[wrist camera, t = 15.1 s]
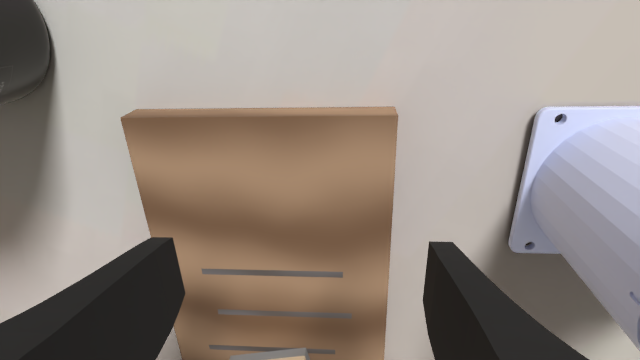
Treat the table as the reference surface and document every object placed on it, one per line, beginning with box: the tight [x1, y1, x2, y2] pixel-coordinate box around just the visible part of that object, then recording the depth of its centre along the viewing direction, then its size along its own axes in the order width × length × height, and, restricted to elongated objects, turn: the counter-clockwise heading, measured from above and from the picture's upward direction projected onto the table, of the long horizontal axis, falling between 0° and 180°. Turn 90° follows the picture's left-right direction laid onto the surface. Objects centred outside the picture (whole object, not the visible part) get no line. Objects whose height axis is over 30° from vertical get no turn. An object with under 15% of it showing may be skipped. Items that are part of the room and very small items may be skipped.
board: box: [121, 107, 398, 360], centre depth 24 cm, size 24×13×2 cm, turn 2°
